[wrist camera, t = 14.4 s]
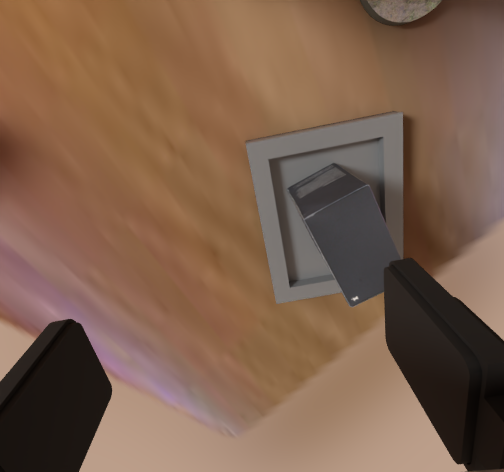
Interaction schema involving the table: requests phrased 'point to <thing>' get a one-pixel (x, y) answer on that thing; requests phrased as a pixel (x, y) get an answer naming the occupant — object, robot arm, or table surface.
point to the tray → (307, 163)
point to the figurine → (398, 10)
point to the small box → (346, 230)
